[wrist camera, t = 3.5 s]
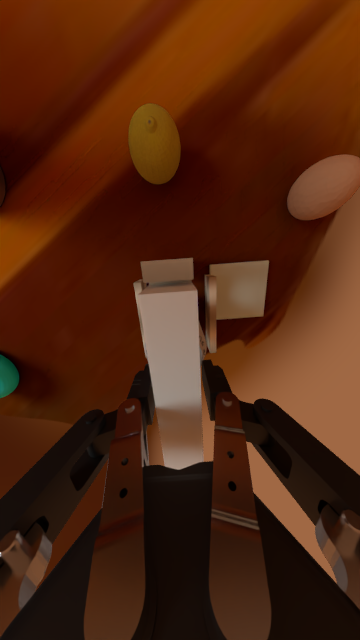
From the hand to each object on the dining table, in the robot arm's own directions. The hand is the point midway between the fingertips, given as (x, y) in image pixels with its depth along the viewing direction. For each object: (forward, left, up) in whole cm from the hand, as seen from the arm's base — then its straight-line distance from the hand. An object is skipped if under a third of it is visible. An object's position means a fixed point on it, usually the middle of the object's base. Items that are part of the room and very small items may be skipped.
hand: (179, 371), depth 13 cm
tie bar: (0, 0, +1) cm, 1 cm away
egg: (-15, +18, -16) cm, 29 cm away
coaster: (-3, +10, -16) cm, 19 cm away
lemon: (-20, -1, -16) cm, 26 cm away
